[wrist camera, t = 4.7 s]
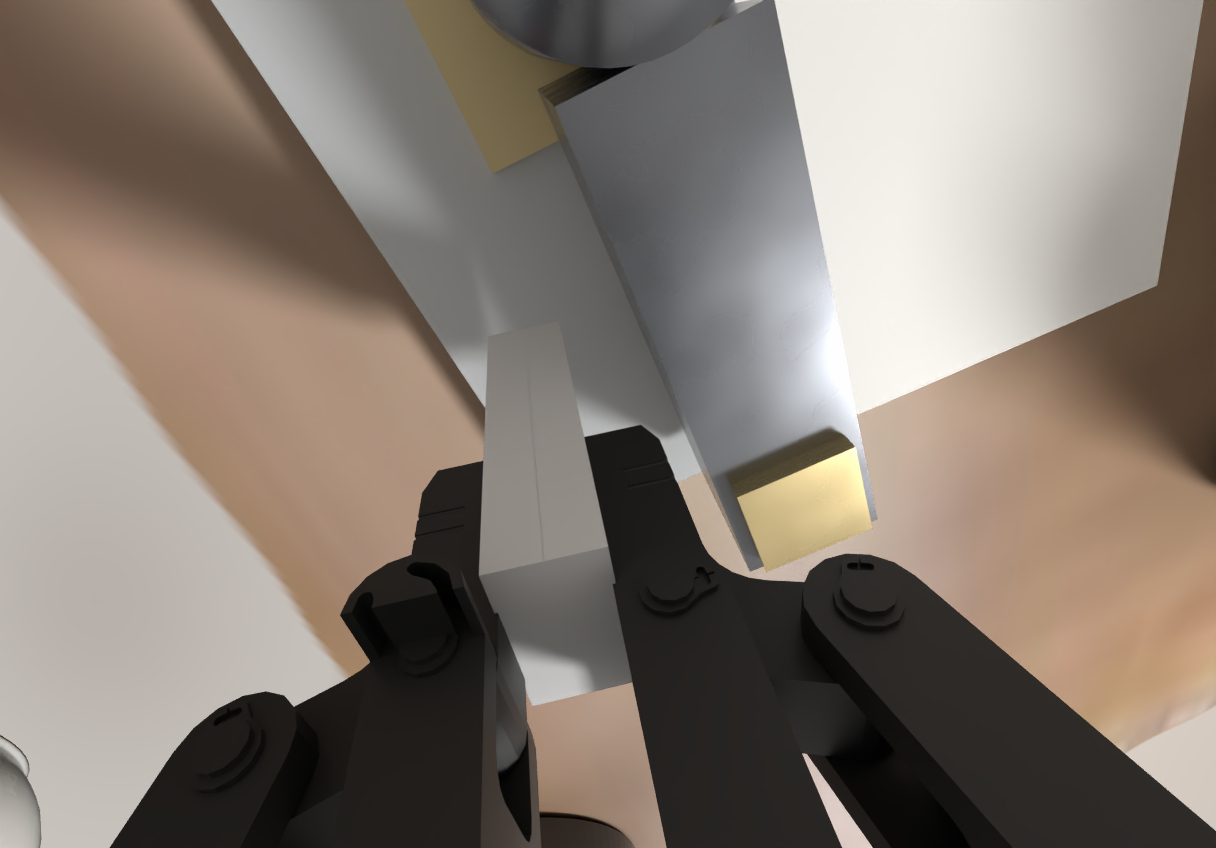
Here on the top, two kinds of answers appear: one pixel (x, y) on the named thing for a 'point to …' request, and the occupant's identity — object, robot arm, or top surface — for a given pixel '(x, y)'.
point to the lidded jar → (17, 800)
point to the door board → (836, 158)
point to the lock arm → (713, 247)
